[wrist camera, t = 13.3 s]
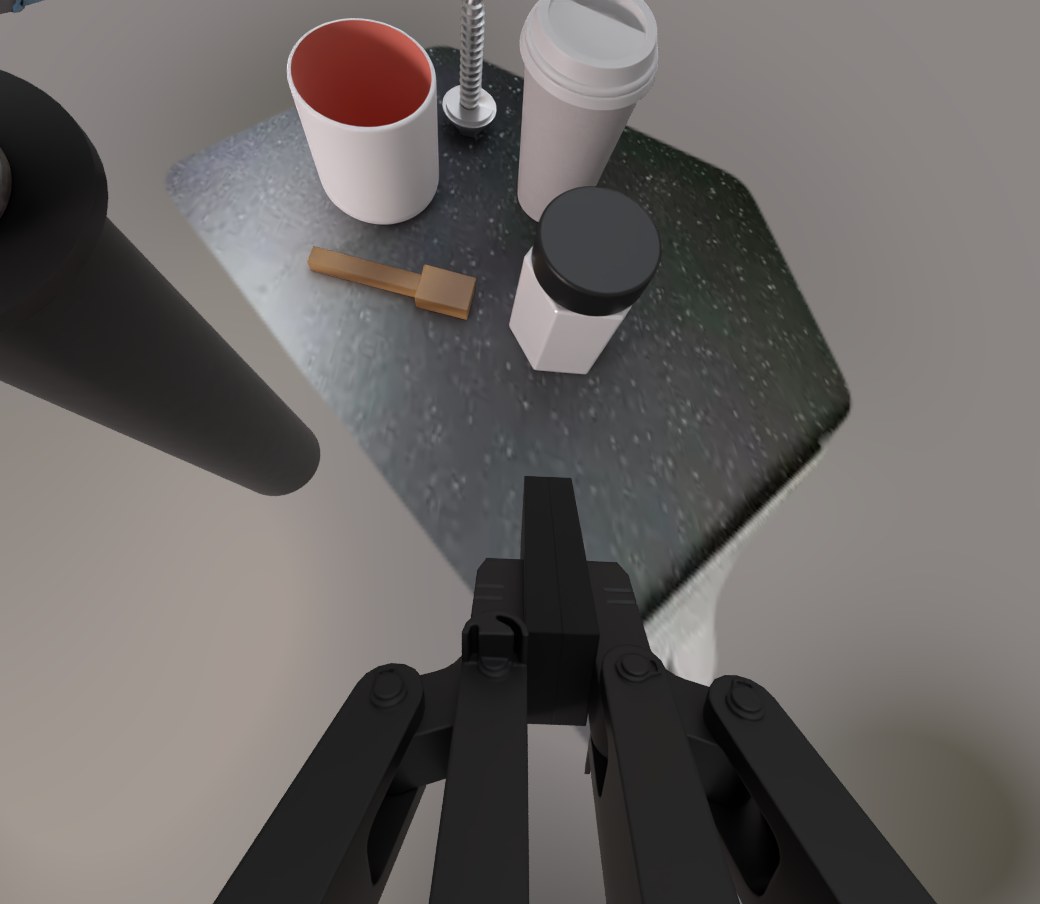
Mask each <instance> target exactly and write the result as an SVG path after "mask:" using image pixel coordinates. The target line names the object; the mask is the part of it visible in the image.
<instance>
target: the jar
mask: <svg viewBox="0 0 1040 904" xmlns="http://www.w3.org/2000/svg"><path fill="white" fill-rule="evenodd" d="M661 253H662V246H661V239H660V235H659V232H658V229H657V227H656V225H655V223H654V221H653V220H652V218H651V217H650V215H649V214H648V213H647V212H646V210H645V209H644V208H643V207H642V206H641V205H639V204H638V203H637V202H636V201H634V200H633V199H631V198H630V197H628V196H627V195H625V194H623V193H620V192H618V191H616V190H613V189H609V188H605V187H598V186H584V187H577V188H574V189H571V190H568V191H566V192H564V193H561V194H560V195H558V196H557V197H555V198H554V199H553V200H552V201H551V202H550V203H549V204H548V205H547V206H546V208H545V209H544V211H543V213H542V215H541V217H540V220H539V223H538V227H537V231H536V235H535V239H534V243H533V246H532V248H531V249H530V250H529V252H528V253H527V254H526V256H525V257H524V261H523V265H522V270H521V274H520V279H519V283H518V288H517V292H516V296H515V301H514V305H513V310H512V314H511V318H510V323H509V327H510V328H511V330H512V332H513V334H514V336H515V337H516V339H517V341H518V343H519V344H520V346H521V348H522V350H523V352H524V353H525V355H526V357H527V359H528V360H529V362H530V364H531V366H532V367H533V369H534V370H540V371H552V372H564V373H576V374H587V373H588V372H589V370H590V369H591V367H592V366H593V364H594V363H595V361H596V360H597V358H598V357H599V355H600V354H601V352H602V351H603V349H604V348H605V346H606V345H607V343H608V342H609V340H610V339H611V337H612V336H613V334H614V333H615V331H616V330H617V328H618V327H619V325H620V324H621V322H622V321H623V319H624V318H625V316H626V314H627V313H628V311H629V310H630V308H631V307H632V305H633V304H634V303H635V302H636V301H637V299H638V298H639V297H640V296H641V294H642V293H643V291H644V290H645V288H646V287H647V285H648V284H649V282H650V281H651V279H652V278H653V276H654V275H655V273H656V271H657V269H658V267H659V264H660V260H661Z"/></svg>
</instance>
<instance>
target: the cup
mask: <svg viewBox="0 0 1040 904" xmlns="http://www.w3.org/2000/svg"><path fill="white" fill-rule="evenodd" d="M287 79H288V83H289V86H290V89H291V92H292V95H293V98H294V101H295V104H296V107H297V110H298V113H299V116H300V120H301V123H302V126H303V129H304V132H305V135H306V138H307V141H308V144H309V147H310V150H311V153H312V156H313V159H314V162H315V165H316V168H317V171H318V174H319V177H320V180H321V183H322V185H323V188H324V190H325V192H326V193H327V195H328V196H329V198H330V199H331V200H332V201H333V203H334V204H335V205H336V206H337V207H338V208H340V209H341V210H342V211H344V212H345V213H346V214H348V215H350V216H351V217H353V218H356V219H358V220H361V221H364V222H367V223H372V224H395V223H400V222H403V221H406V220H409V219H411V218H413V217H415V216H416V215H418V214H419V213H421V212H422V211H423V210H424V209H425V208H426V207H427V206H428V205H429V203H430V202H431V201H432V199H433V197H434V195H435V193H436V190H437V187H438V182H439V159H438V126H437V95H436V75H435V70H434V67H433V64H432V62H431V60H430V58H429V56H428V54H427V53H426V51H425V50H424V49H423V48H422V46H421V45H420V44H419V43H418V42H417V41H416V40H414V39H413V38H412V37H410V36H409V35H408V34H406V33H405V32H403V31H401V30H400V29H398V28H396V27H393V26H391V25H388V24H386V23H382V22H379V21H374V20H369V19H360V18H348V19H340V20H335V21H331V22H327V23H324V24H321V25H319V26H317V27H315V28H313V29H312V30H310V31H309V32H307V33H306V34H305V35H303V36H302V37H301V38H300V39H299V40H298V42H297V43H296V44H295V46H294V47H293V49H292V51H291V53H290V56H289V58H288V63H287Z"/></svg>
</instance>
